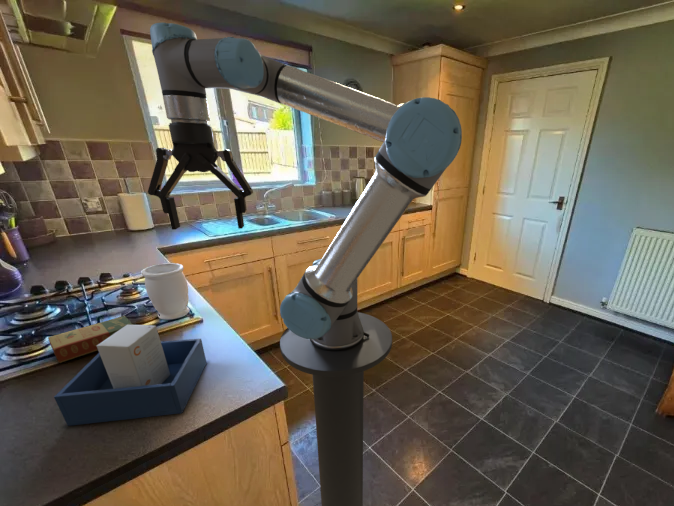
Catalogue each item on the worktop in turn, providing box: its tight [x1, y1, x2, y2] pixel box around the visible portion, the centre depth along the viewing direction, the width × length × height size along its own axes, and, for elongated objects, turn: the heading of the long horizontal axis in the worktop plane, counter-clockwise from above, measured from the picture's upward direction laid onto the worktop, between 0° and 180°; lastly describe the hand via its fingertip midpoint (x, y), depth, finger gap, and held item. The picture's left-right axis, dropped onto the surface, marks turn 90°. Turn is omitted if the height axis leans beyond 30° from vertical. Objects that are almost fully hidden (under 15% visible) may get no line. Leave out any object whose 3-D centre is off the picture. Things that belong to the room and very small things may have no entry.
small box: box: [97, 324, 170, 389], centre depth 67 cm, size 8×6×13 cm
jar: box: [140, 262, 190, 321], centre depth 98 cm, size 11×10×15 cm
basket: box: [53, 338, 207, 427], centre depth 69 cm, size 20×17×7 cm
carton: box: [47, 315, 134, 364], centre depth 85 cm, size 8×16×4 cm, turn 140°
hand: (209, 227), depth 74 cm, fingers open, 13 cm apart
